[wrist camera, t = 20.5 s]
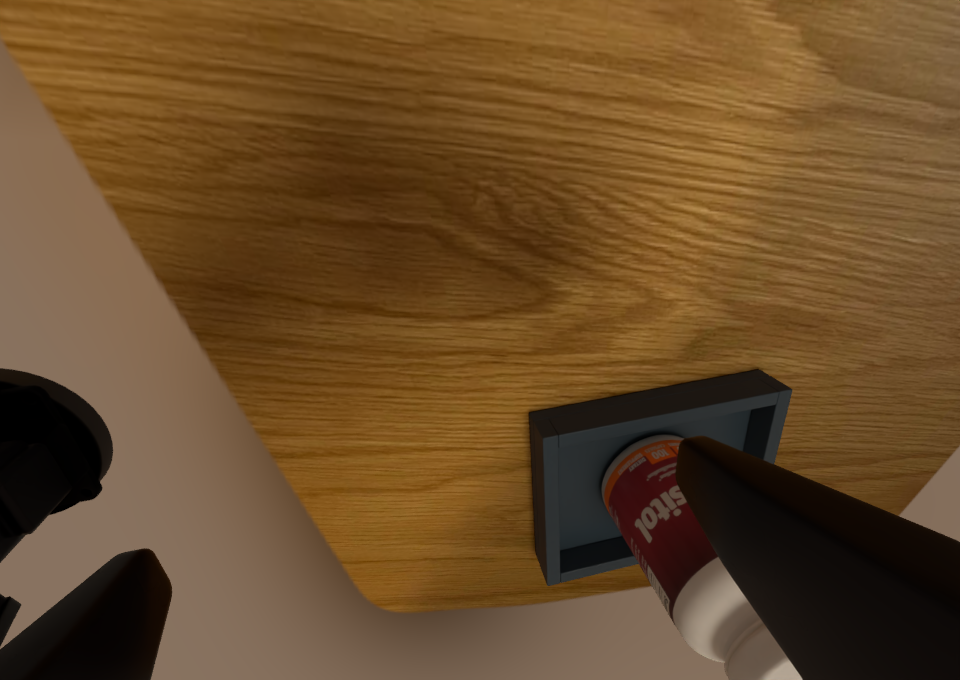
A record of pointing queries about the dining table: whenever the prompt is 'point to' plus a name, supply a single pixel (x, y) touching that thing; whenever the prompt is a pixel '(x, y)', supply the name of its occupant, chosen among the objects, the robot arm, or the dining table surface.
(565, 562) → the dish
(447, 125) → the dining table surface
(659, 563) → the pill bottle
